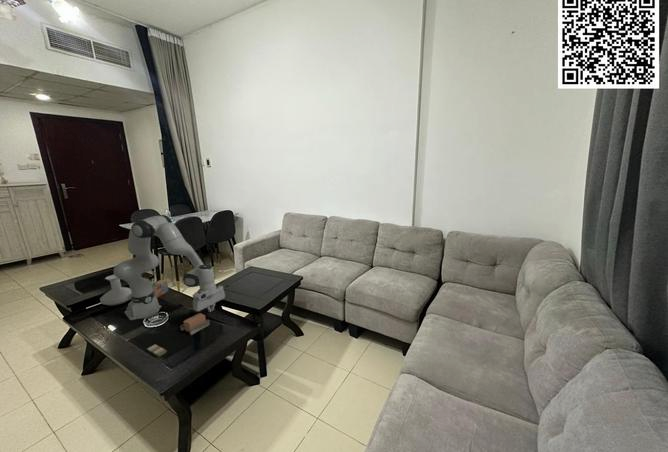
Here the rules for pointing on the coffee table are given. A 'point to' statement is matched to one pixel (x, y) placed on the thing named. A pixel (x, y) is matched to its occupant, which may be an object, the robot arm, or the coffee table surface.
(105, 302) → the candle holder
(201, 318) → the terracotta block
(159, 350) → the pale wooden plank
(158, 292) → the stack of blocks
